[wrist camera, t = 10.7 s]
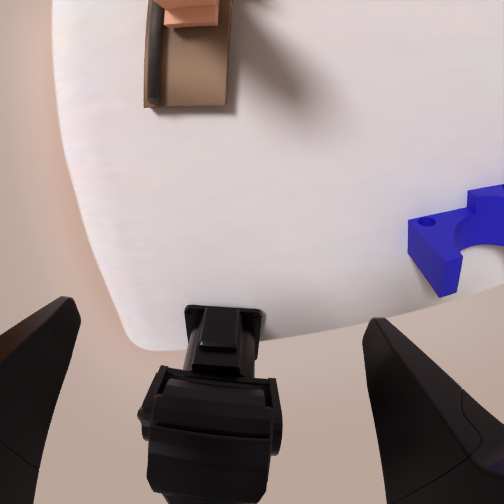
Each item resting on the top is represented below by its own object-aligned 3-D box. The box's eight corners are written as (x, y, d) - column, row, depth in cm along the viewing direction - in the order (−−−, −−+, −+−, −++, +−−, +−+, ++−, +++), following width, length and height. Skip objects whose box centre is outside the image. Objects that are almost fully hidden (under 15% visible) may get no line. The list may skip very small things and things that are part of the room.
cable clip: (511, 182, 18) (554, 210, 13) (505, 225, 20) (543, 259, 15) (406, 201, 20) (447, 240, 15) (406, 251, 22) (439, 297, 17)
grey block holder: (226, 104, 17) (217, 109, 13) (149, 106, 17) (119, 113, 13) (235, -34, 12) (229, -64, 8) (157, -28, 12) (132, -52, 8)
